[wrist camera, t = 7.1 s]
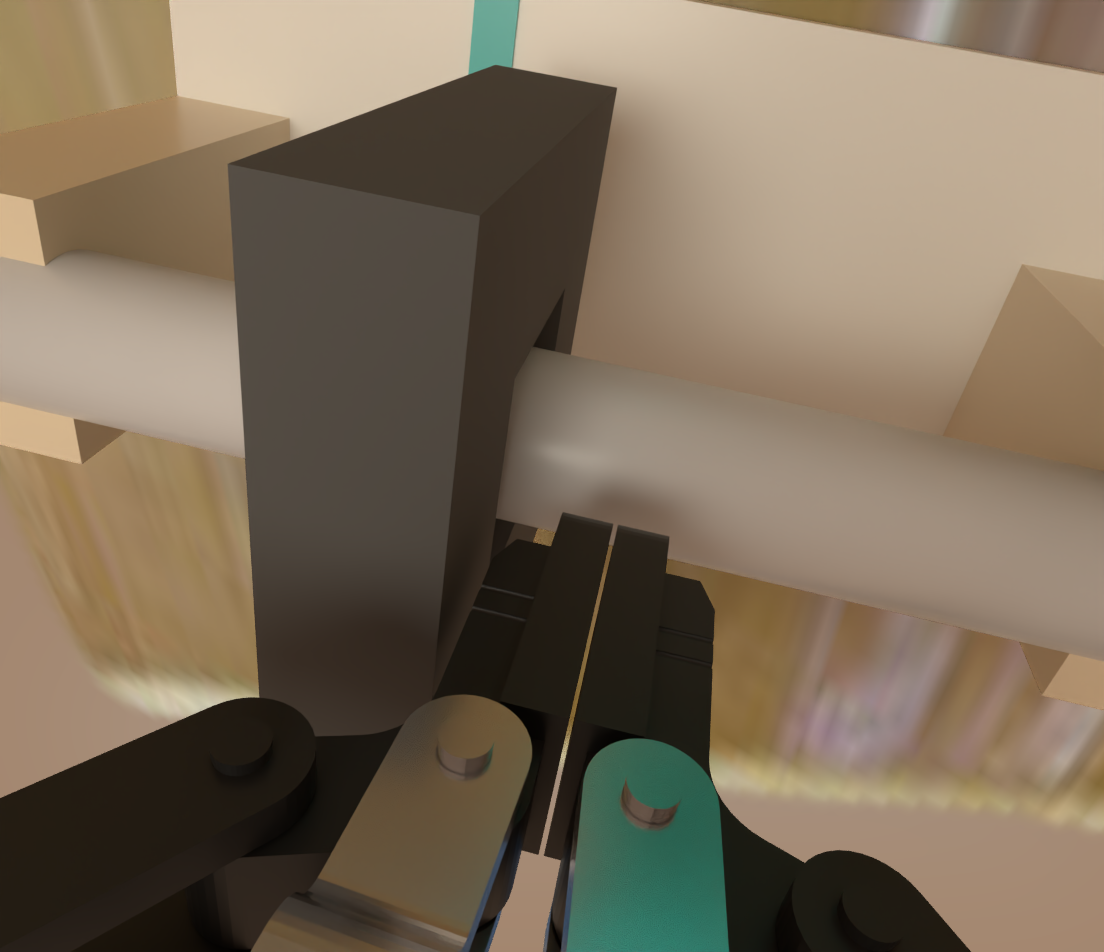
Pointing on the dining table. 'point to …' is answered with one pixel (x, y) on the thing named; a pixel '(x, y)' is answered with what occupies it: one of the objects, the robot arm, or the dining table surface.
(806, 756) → the dining table surface
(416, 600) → the collar
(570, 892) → the robot arm
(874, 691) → the dining table surface
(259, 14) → the pipe stand
